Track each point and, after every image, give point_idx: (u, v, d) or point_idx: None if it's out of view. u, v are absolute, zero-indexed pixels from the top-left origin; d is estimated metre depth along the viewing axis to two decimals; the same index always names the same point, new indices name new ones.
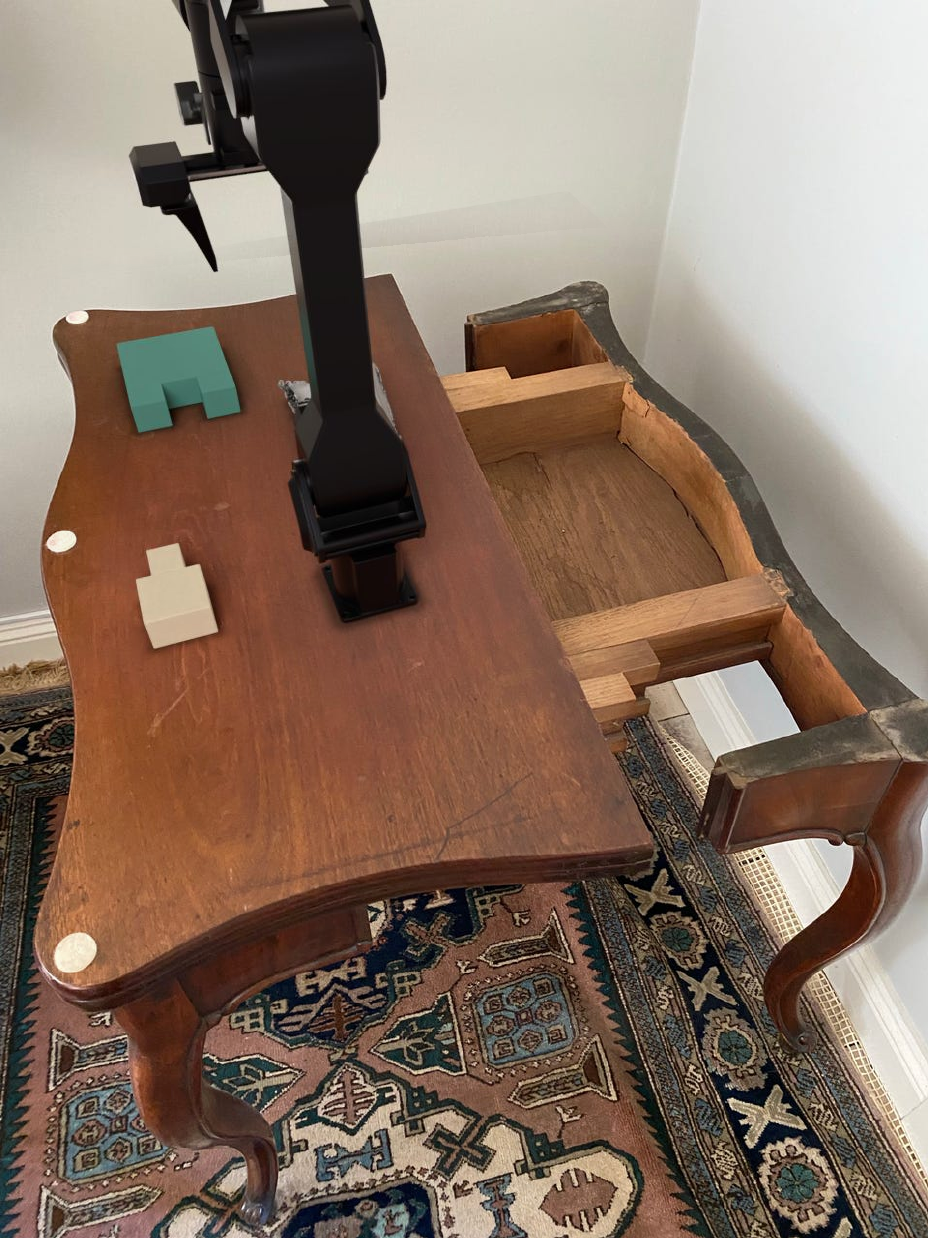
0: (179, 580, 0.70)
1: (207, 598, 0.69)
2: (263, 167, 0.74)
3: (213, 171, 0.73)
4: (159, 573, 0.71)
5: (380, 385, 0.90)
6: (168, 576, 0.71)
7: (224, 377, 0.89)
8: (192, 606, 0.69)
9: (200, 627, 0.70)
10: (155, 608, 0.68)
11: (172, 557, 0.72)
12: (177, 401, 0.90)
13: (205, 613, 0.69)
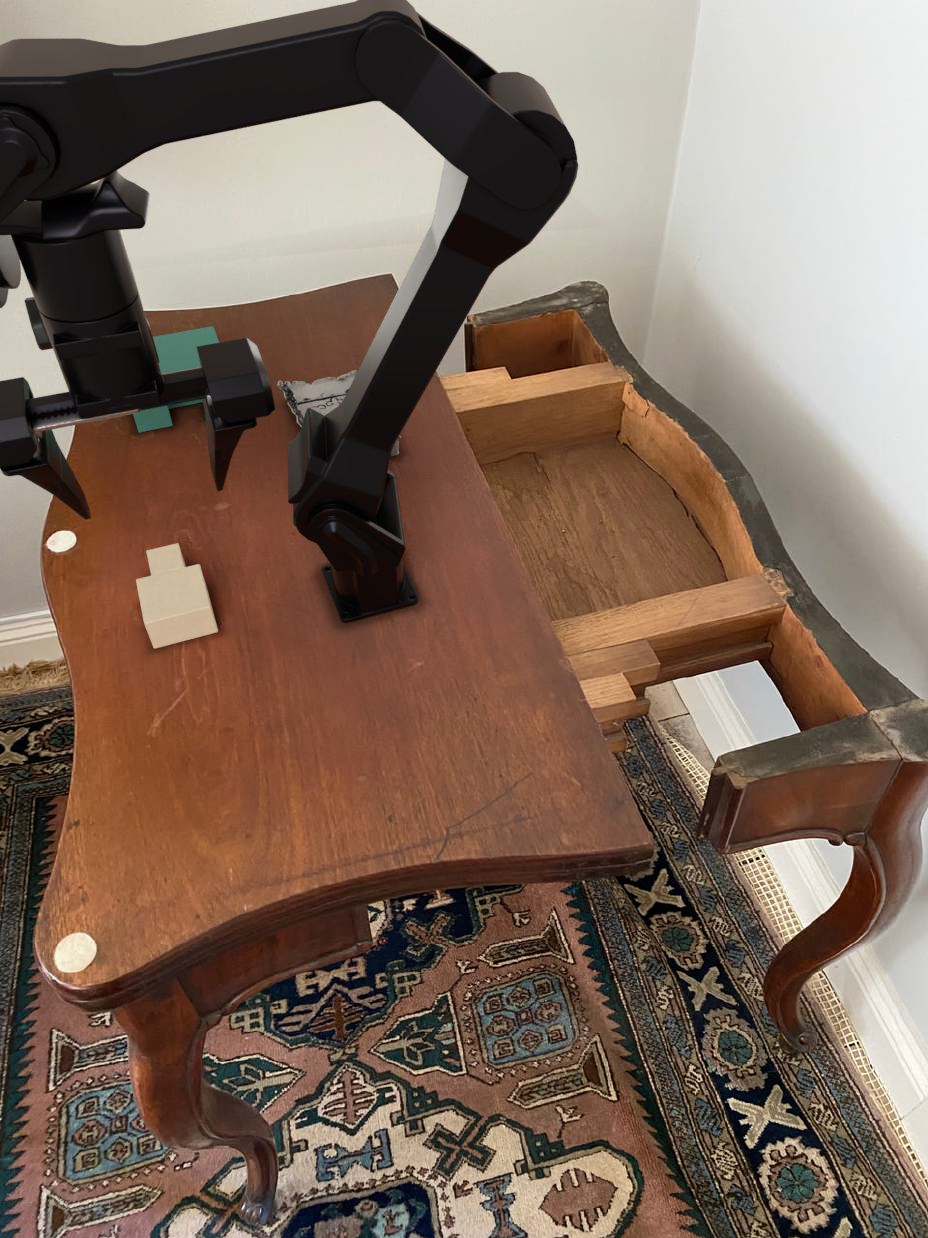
0: (179, 580, 0.70)
1: (207, 598, 0.69)
2: (135, 411, 0.57)
3: (69, 420, 0.56)
4: (159, 573, 0.71)
5: None
6: (168, 576, 0.71)
7: None
8: (192, 606, 0.69)
9: (200, 627, 0.70)
10: (155, 608, 0.68)
11: (172, 557, 0.72)
12: None
13: (205, 613, 0.69)
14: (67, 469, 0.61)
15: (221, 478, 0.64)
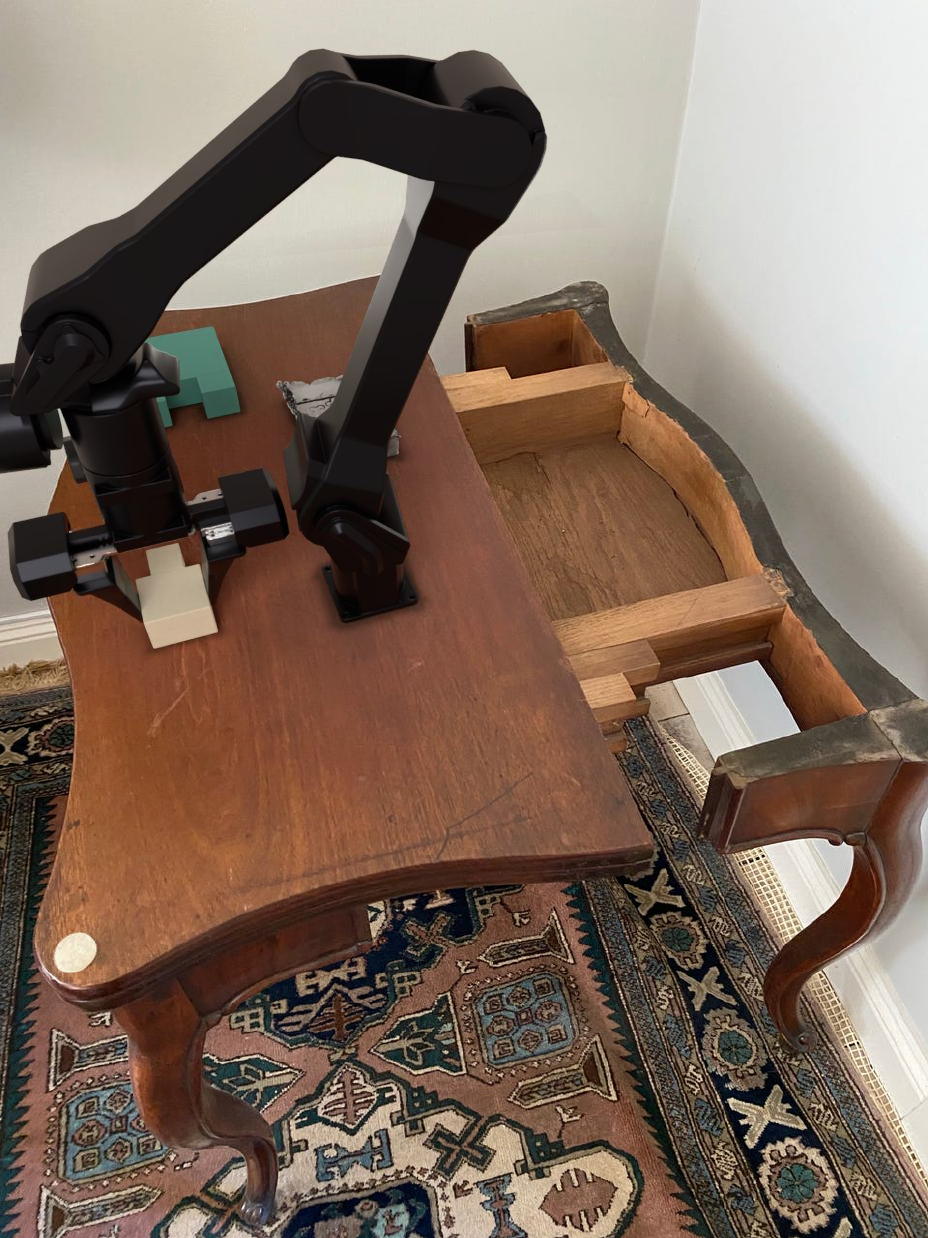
0: (179, 580, 0.70)
1: (207, 598, 0.69)
2: None
3: (105, 551, 0.63)
4: (159, 573, 0.71)
5: None
6: (168, 576, 0.71)
7: (224, 377, 0.89)
8: (192, 606, 0.69)
9: (200, 627, 0.70)
10: (155, 608, 0.68)
11: (172, 557, 0.72)
12: (177, 401, 0.90)
13: (205, 613, 0.69)
14: (127, 581, 0.67)
15: (214, 595, 0.70)
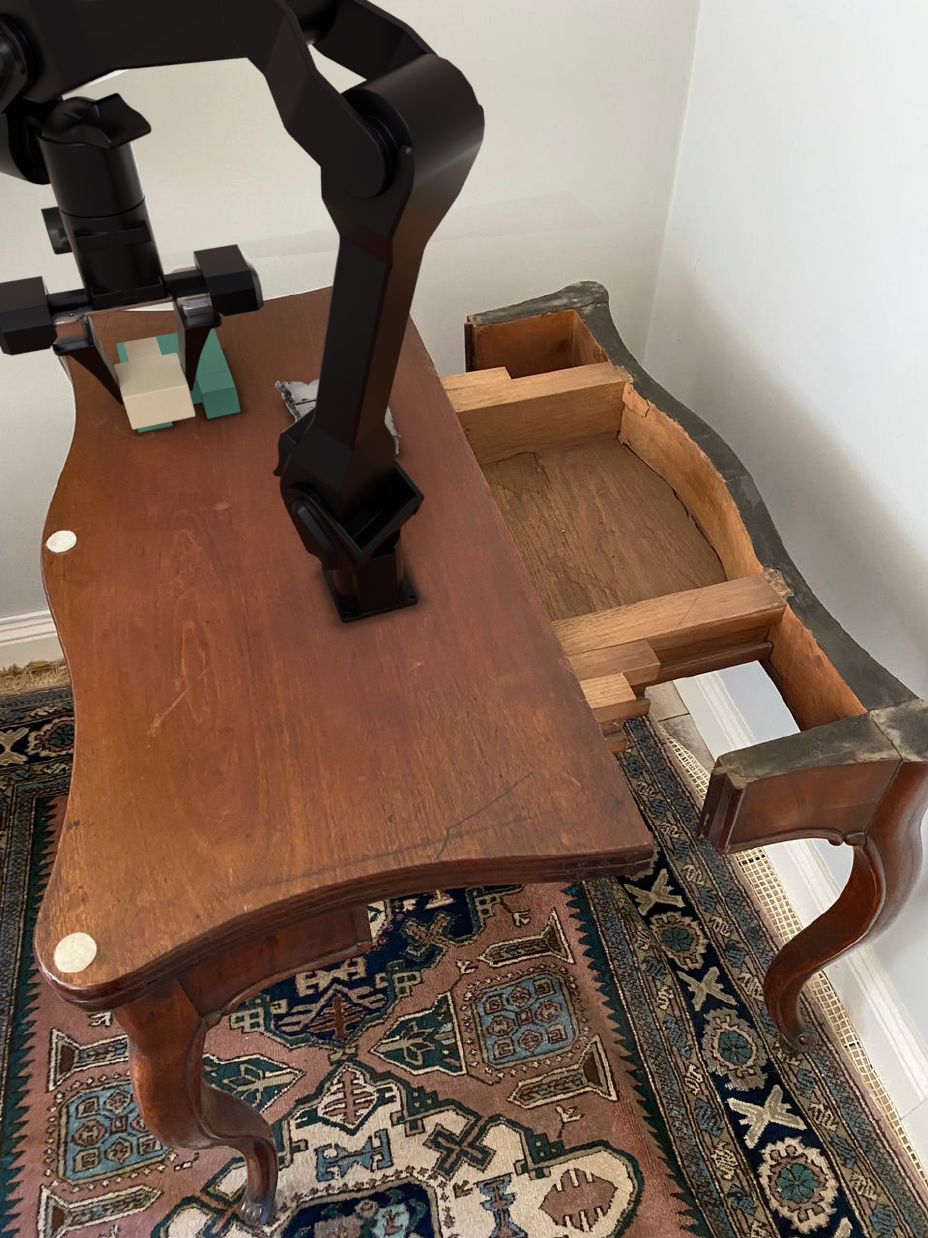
0: (156, 365, 0.72)
1: (184, 378, 0.71)
2: (142, 305, 0.66)
3: (84, 311, 0.65)
4: (137, 359, 0.73)
5: None
6: (146, 362, 0.72)
7: (224, 377, 0.89)
8: (169, 384, 0.70)
9: (178, 409, 0.72)
10: (133, 386, 0.70)
11: (149, 347, 0.74)
12: None
13: (182, 392, 0.71)
14: (106, 357, 0.69)
15: (191, 378, 0.72)
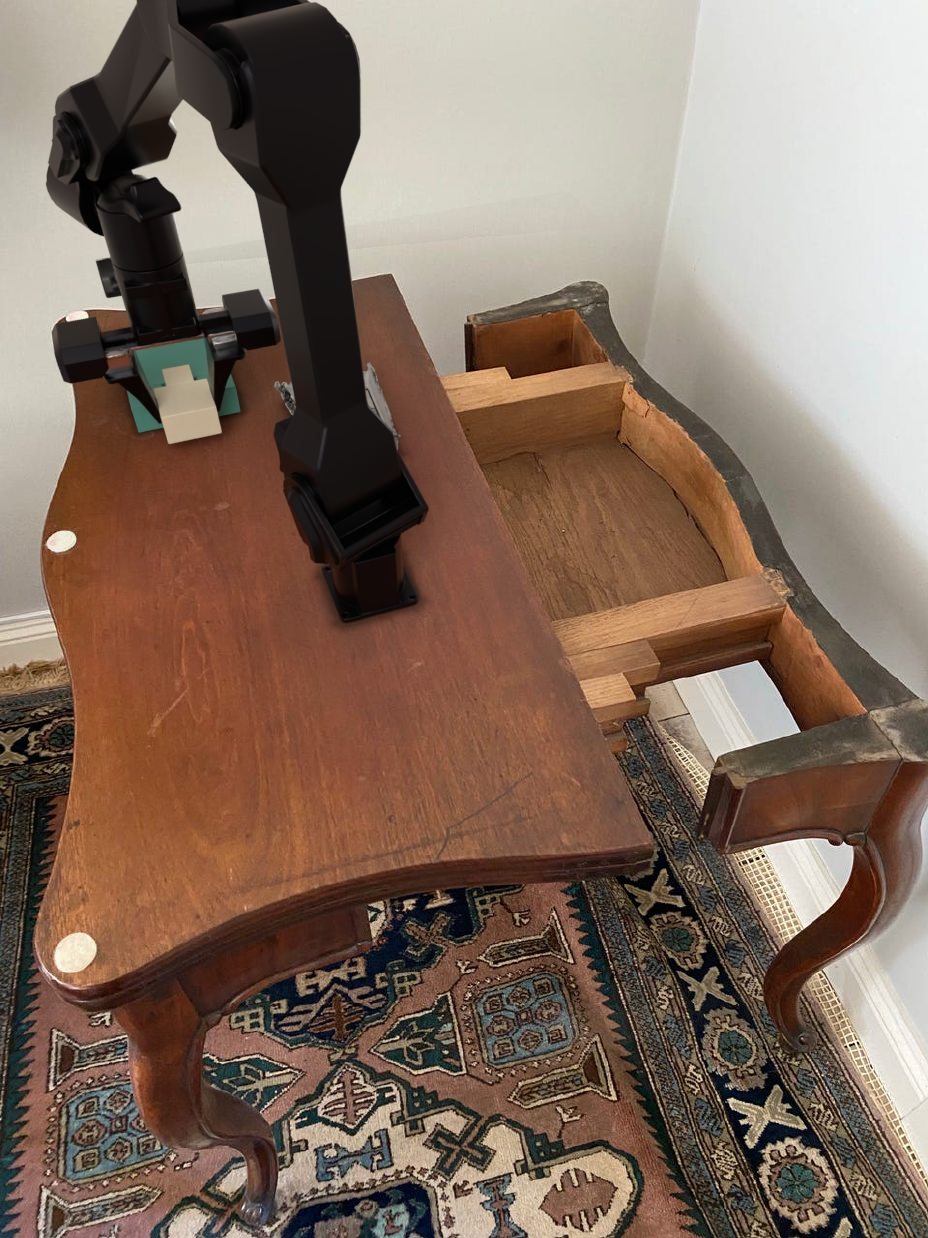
0: (189, 389, 0.85)
1: (213, 401, 0.84)
2: (179, 341, 0.78)
3: (131, 347, 0.77)
4: (172, 384, 0.85)
5: (376, 385, 0.90)
6: (180, 386, 0.85)
7: None
8: (200, 406, 0.83)
9: (207, 426, 0.84)
10: (170, 407, 0.83)
11: (183, 373, 0.87)
12: None
13: (211, 413, 0.83)
14: (148, 383, 0.82)
15: (219, 401, 0.84)
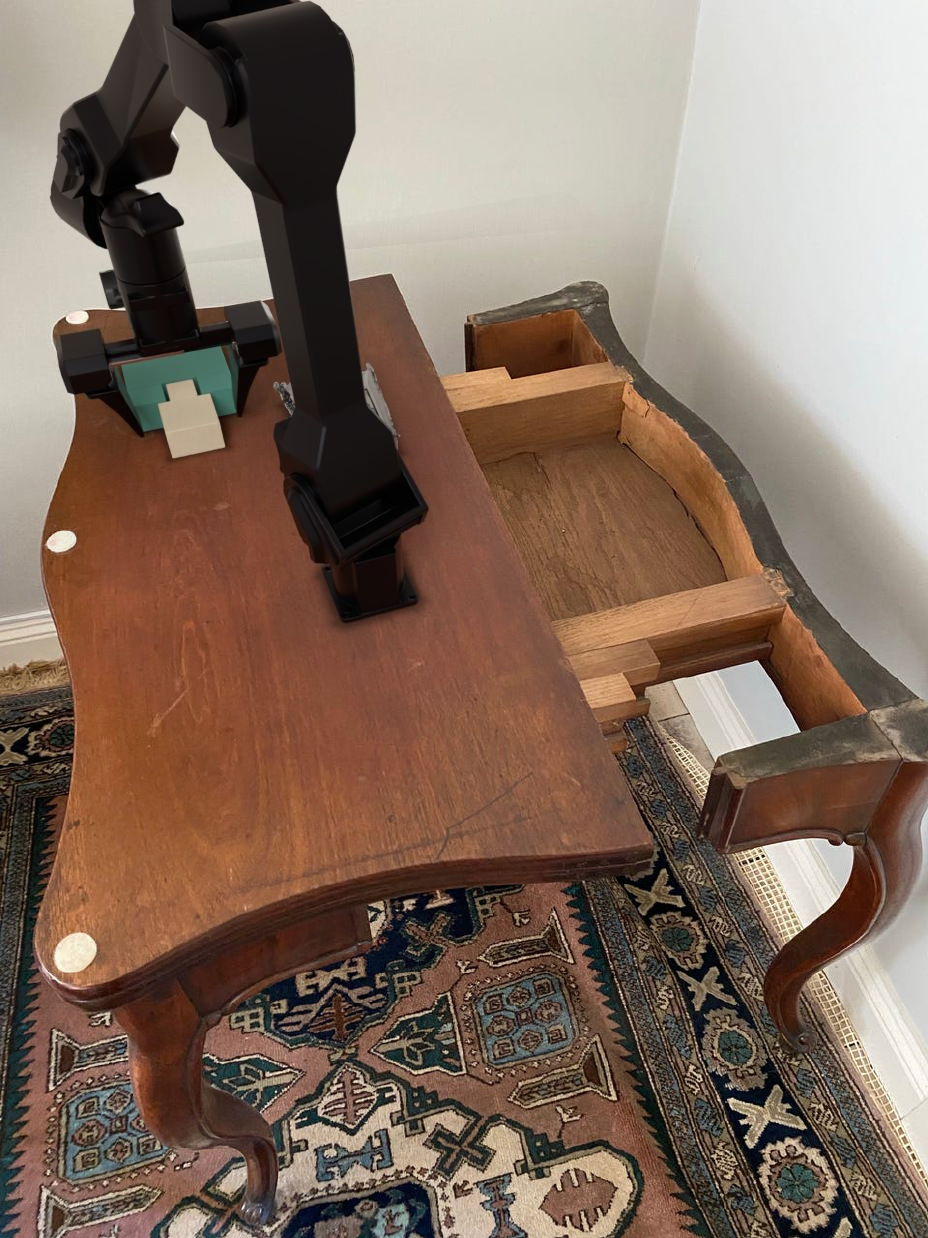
0: (193, 404, 0.86)
1: (216, 416, 0.85)
2: (181, 352, 0.79)
3: (134, 358, 0.78)
4: (177, 399, 0.87)
5: (376, 385, 0.90)
6: (184, 401, 0.86)
7: (224, 377, 0.89)
8: (204, 421, 0.84)
9: (211, 441, 0.85)
10: (174, 422, 0.84)
11: (187, 388, 0.88)
12: None
13: (214, 428, 0.85)
14: (129, 398, 0.82)
15: (241, 406, 0.86)
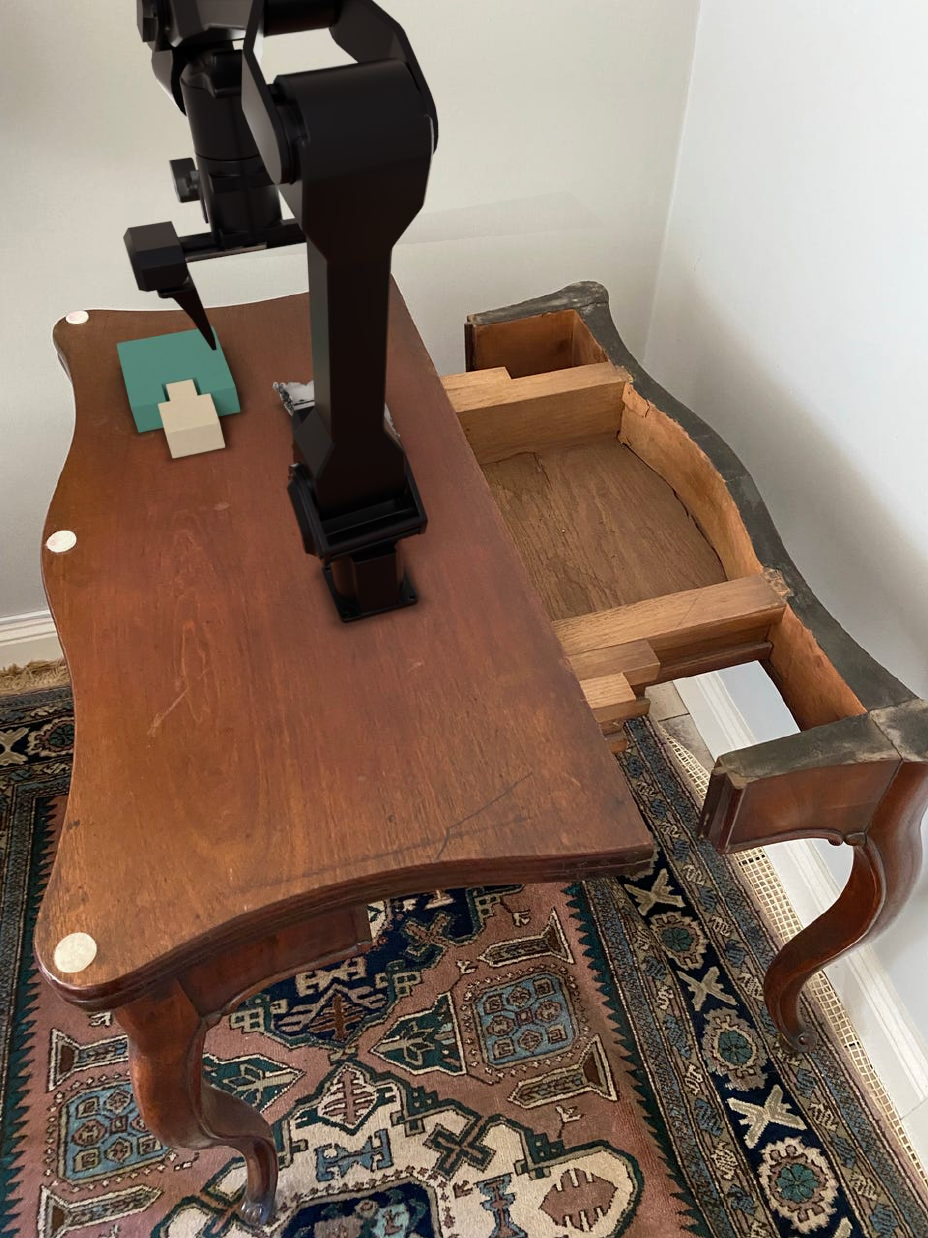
0: (193, 404, 0.86)
1: (216, 416, 0.85)
2: (263, 246, 0.71)
3: (211, 252, 0.70)
4: (177, 399, 0.87)
5: None
6: (184, 401, 0.86)
7: (224, 377, 0.89)
8: (204, 421, 0.84)
9: (211, 441, 0.85)
10: (174, 422, 0.84)
11: (187, 388, 0.88)
12: None
13: (214, 428, 0.85)
14: None
15: None
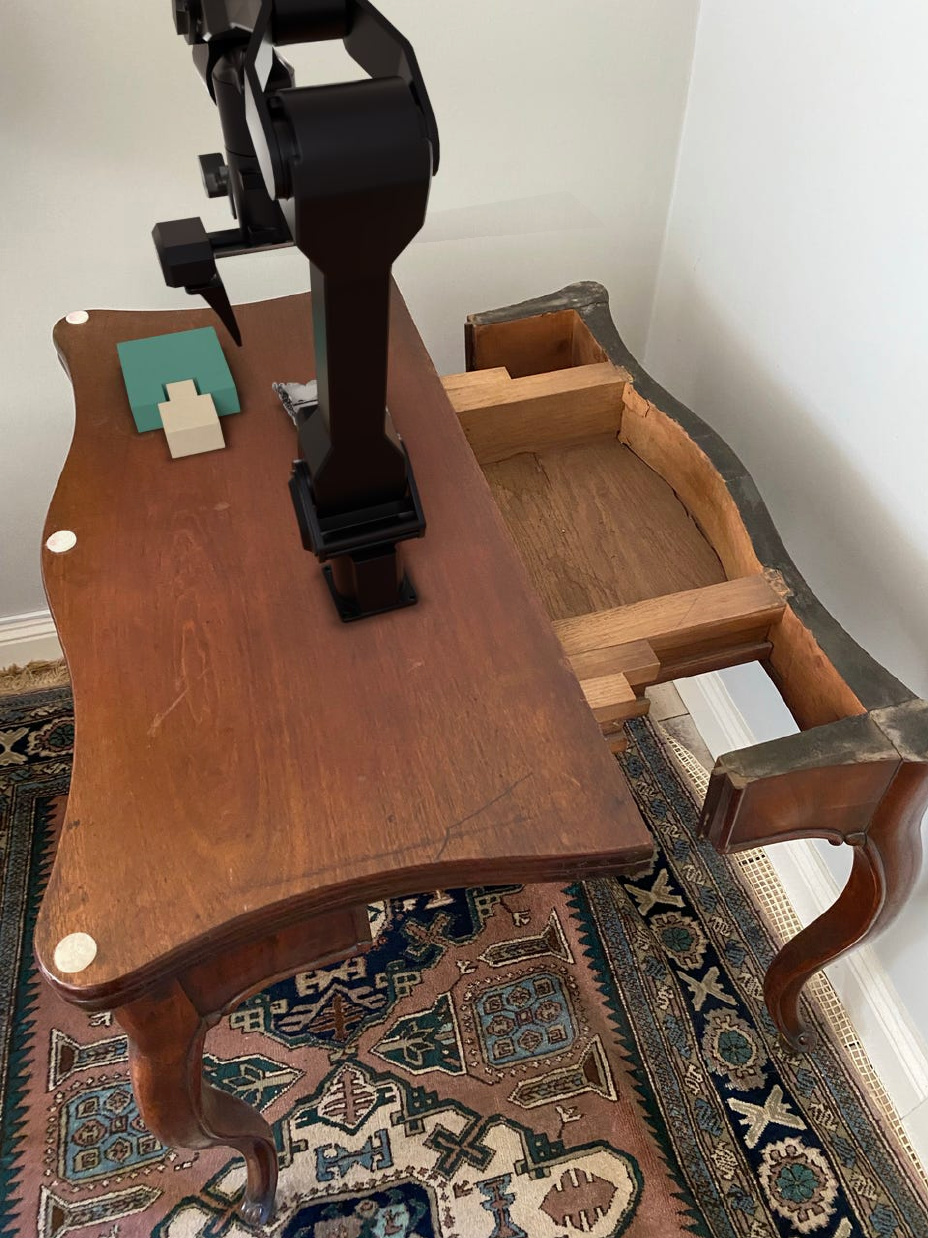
0: (193, 404, 0.86)
1: (216, 416, 0.85)
2: (291, 243, 0.70)
3: (239, 249, 0.69)
4: (177, 399, 0.87)
5: None
6: (184, 401, 0.86)
7: (224, 377, 0.89)
8: (204, 421, 0.84)
9: (211, 441, 0.85)
10: (174, 422, 0.84)
11: (187, 388, 0.88)
12: None
13: (214, 428, 0.85)
14: None
15: None
